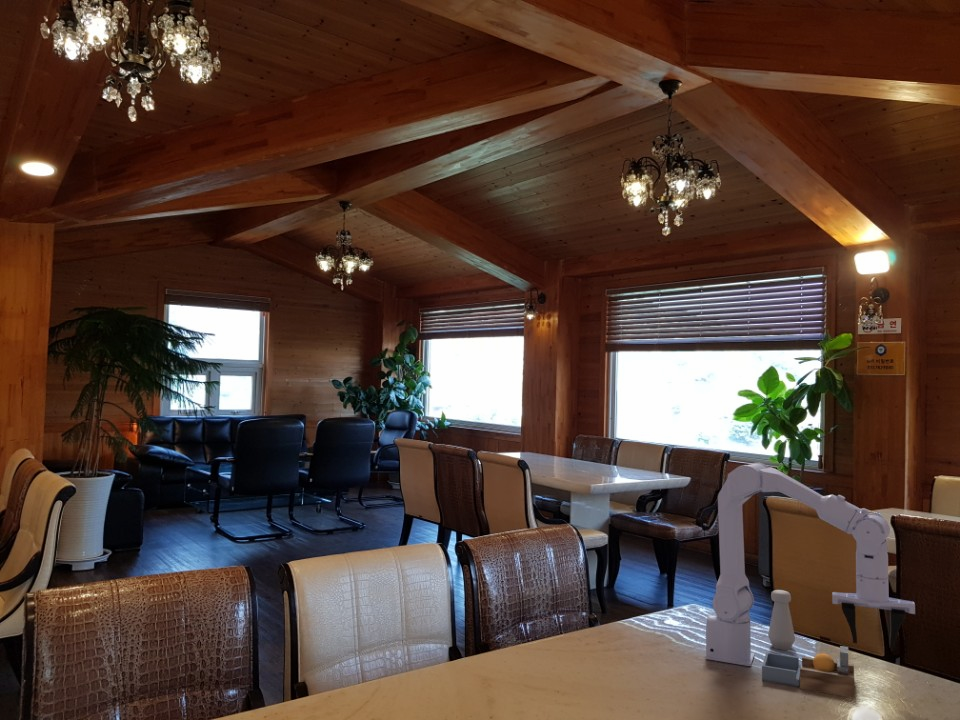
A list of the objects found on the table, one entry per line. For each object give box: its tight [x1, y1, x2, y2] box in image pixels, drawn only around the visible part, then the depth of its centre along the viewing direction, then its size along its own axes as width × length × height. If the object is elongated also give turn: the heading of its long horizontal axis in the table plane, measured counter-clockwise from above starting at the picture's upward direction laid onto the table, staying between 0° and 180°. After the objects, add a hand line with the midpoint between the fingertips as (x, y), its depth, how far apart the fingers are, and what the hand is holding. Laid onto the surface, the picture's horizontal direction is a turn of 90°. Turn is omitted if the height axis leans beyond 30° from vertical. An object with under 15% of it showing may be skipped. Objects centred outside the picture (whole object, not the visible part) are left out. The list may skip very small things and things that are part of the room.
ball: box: [813, 652, 835, 672], centre depth 148 cm, size 4×4×4 cm
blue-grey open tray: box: [761, 652, 802, 688], centre depth 151 cm, size 7×9×3 cm
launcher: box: [799, 656, 856, 699], centre depth 147 cm, size 10×10×4 cm
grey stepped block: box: [836, 645, 849, 675], centre depth 146 cm, size 2×5×5 cm, turn 153°
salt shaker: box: [767, 589, 796, 651], centre depth 169 cm, size 6×6×13 cm
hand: (873, 644), depth 144 cm, fingers open, 6 cm apart
